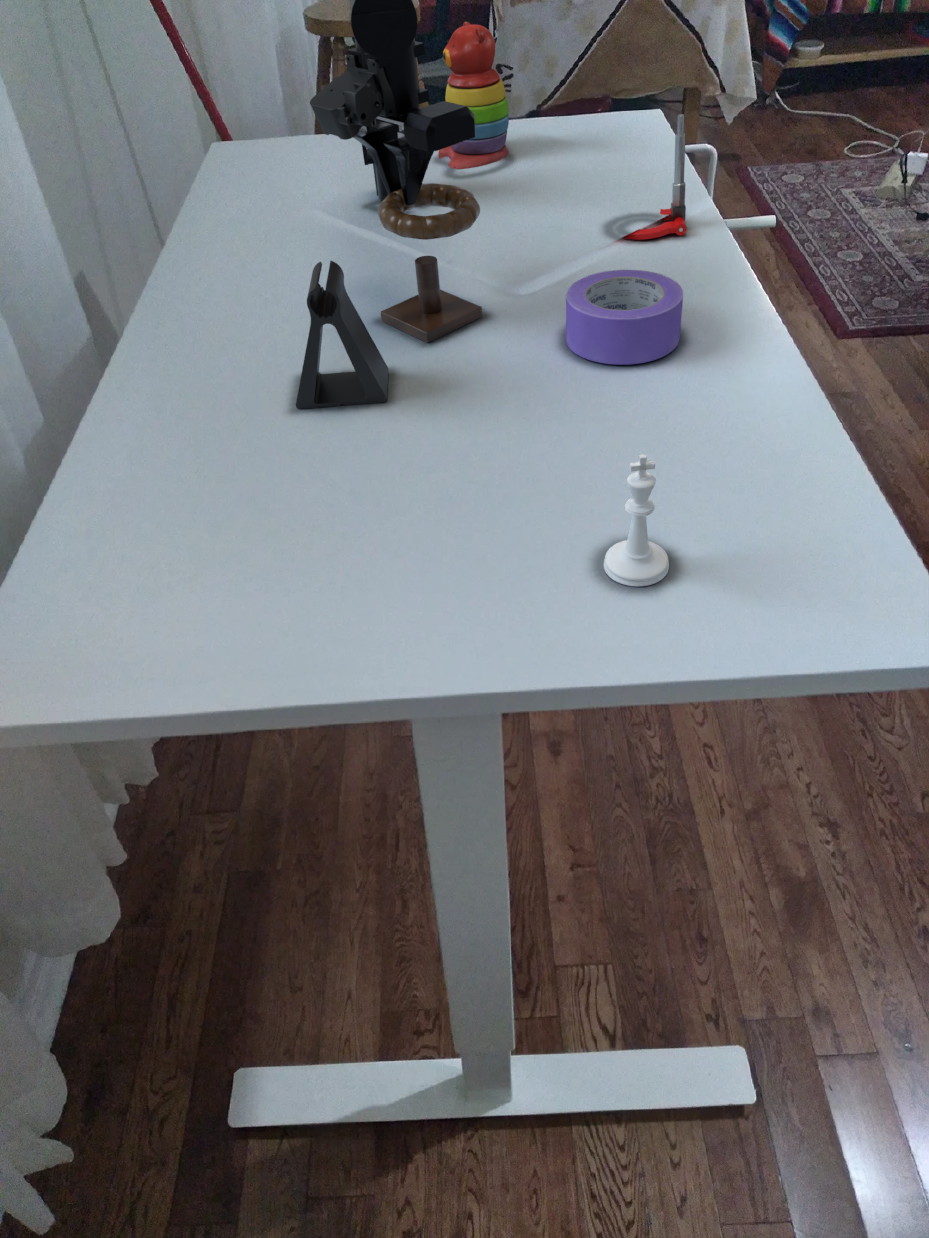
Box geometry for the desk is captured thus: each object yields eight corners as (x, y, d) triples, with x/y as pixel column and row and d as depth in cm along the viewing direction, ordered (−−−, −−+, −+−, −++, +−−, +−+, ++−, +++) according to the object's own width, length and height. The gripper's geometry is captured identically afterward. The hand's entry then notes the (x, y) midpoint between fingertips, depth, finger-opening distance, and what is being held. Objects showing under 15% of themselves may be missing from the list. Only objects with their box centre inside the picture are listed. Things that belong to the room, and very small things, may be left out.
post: (381, 321, 108) (373, 262, 103) (435, 296, 111) (430, 238, 107) (427, 343, 103) (421, 283, 98) (482, 317, 107) (479, 257, 102)
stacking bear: (435, 156, 147) (424, 21, 135) (499, 146, 148) (494, 12, 136) (452, 178, 139) (441, 38, 127) (519, 168, 141) (515, 28, 129)
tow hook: (611, 246, 119) (688, 239, 118) (609, 134, 110) (692, 125, 109) (607, 220, 125) (680, 213, 124) (605, 112, 117) (683, 103, 115)
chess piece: (598, 549, 76) (601, 440, 69) (660, 542, 76) (669, 433, 69) (610, 590, 72) (615, 480, 65) (675, 583, 72) (686, 472, 66)
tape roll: (581, 308, 106) (582, 264, 103) (688, 318, 103) (693, 272, 100) (552, 360, 98) (552, 313, 95) (667, 372, 95) (671, 324, 92)
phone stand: (389, 372, 99) (373, 257, 91) (387, 402, 95) (370, 284, 87) (302, 378, 99) (278, 264, 91) (296, 409, 95) (270, 292, 87)
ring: (360, 222, 102) (357, 201, 100) (434, 193, 107) (433, 173, 105) (424, 252, 96) (422, 230, 95) (499, 220, 101) (499, 199, 99)
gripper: (260, 41, 94) (291, 205, 105) (378, 66, 83) (400, 247, 94) (351, 18, 99) (371, 177, 110) (473, 38, 88) (483, 212, 99)
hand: (403, 202), depth 103 cm, fingers closed on ring, 2 cm apart
